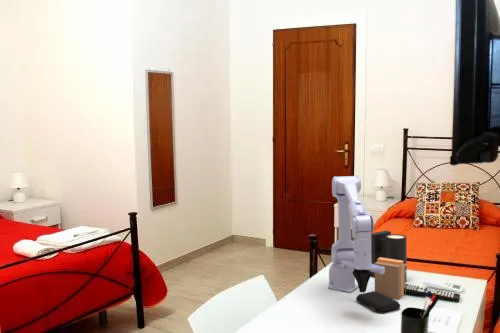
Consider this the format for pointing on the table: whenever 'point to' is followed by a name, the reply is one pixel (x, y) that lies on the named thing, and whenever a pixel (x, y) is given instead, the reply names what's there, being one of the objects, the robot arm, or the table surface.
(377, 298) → the carrying case or bag
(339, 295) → the table surface
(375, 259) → the light fixture
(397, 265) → the tan upright slab
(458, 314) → the table surface
